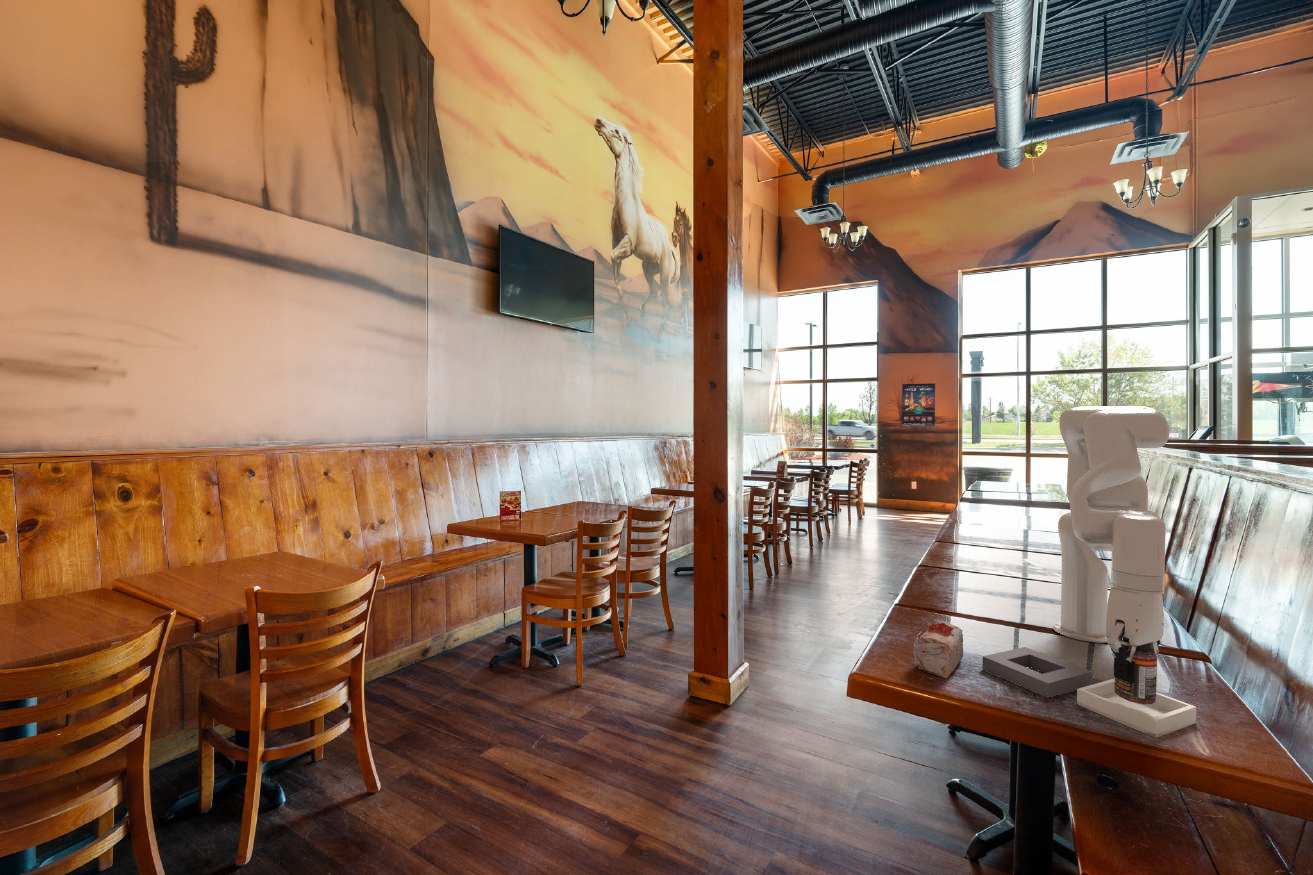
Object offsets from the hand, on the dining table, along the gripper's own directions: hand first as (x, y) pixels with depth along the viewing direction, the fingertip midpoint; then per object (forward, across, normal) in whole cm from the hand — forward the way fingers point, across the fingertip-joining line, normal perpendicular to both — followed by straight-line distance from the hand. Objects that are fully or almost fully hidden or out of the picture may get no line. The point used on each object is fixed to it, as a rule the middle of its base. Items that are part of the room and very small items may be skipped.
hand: (1135, 676), depth 105 cm
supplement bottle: (+4, 0, 0) cm, 4 cm away
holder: (+7, +2, -17) cm, 18 cm away
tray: (+7, 0, 0) cm, 7 cm away
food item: (+7, +17, -29) cm, 34 cm away
